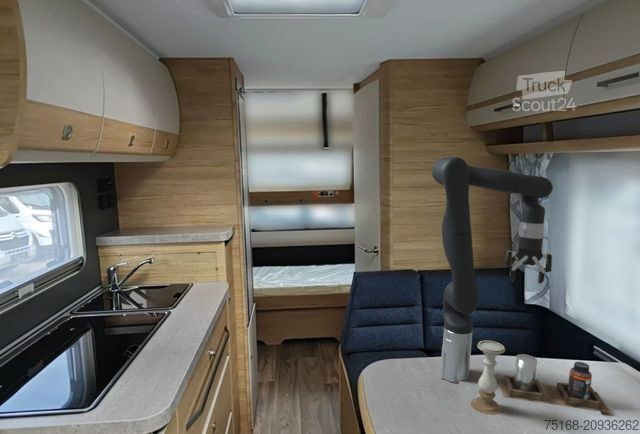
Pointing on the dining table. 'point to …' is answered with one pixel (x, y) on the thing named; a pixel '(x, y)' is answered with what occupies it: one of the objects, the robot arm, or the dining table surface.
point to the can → (525, 373)
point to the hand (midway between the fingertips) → (526, 281)
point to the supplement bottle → (579, 381)
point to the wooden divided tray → (553, 395)
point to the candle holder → (488, 379)
